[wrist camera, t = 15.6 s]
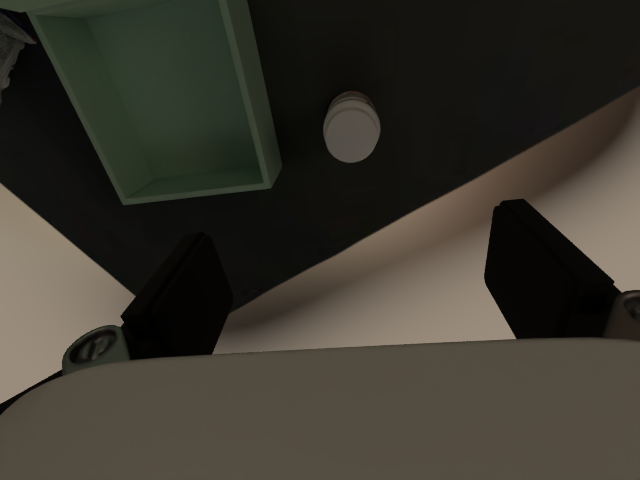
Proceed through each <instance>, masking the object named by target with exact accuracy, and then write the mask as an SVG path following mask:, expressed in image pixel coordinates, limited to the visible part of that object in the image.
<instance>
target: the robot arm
mask: <svg viewBox="0 0 640 480" xmlns="http://www.w3.org/2000/svg"><path fill="white" fill-rule="evenodd" d="M484 279H485V283H486V286H487V288H488V289H489V291H490V293H491V295H492V296H493V298H494V300H495V302H496V304H497V305H498V307H499V309H500V310H501V312H502V314H503V316H504V318H505V319H506V321H507V323H508V325H509V326H510V328H511V330H512V332H513V333H514V335H515V337H516V339H511V340H510V339H509V340H490V341H489V340H488V341H469V342H468V341H466V342H445V343H424V344H404V345H383V346H365V347H345V348H325V349H306V350H287V351H269V352H250V353H232V354H214V355H212V353H213V351H214V348H215V345H216V343H217V341H218V338H219V336H220V333H221V331H222V329H223V326H224V324H225V321H226V319H227V317H228V314H229V312H230V309H231V307H232V304H233V293H232V291H231V288H230V285H229V283H228V280H227V277H226V275H225V272H224V270H223V267H222V264H221V262H220V259H219V256H218V254H217V251H216V248H215V246H214V243H213V241H212V238H211V237H210V236H209V235H208V236H207V235H206V234H205V233H204V232H197V233H188V234H185V235H184V237H183V238H182V239H181V240H180V242H179V243H178V244H177V245H176V247H175V248H174V249H173V250H172V252H171V253H170V254H169V256H168V257H167V258H166V259H165V261H164V262H163V263H162V264H161V266H160V267H159V268H158V269H157V271H156V272H155V273H154V274H153V276H152V277H151V278H150V279H149V281H148V282H147V283H146V285H145V286H144V287H143V288H142V290H141V291H140V292H139V293H138V295H137V296H136V297H135V298H134V300H133V301H132V302H131V303H130V305H129V306H128V307H127V309H126V310H125V311H124V312H123V314H122V315H121V318H122V320H123V321H124V323H123V325H122V326H121V327H118V326H115V325H107V326H103V327H99V328H96V329H94V330H91V331H90V332H88V333H86V334H85V335H83V336H81V337H80V338H79V339H77V340H76V341H75V342H74V343H73V344H72V345H71V346H70V347H69V348H68V349H67V351H66V352H65V354H64V356H63V360H62V370H60V371H58V372H57V373H55V374H53V375H51V376H49V377H48V378H46V379H45V380H42V381H41V382H39V383H37V384H35V385H34V386H32V387H30V388H28V389H26V390H25V391H23V392H21V393H19V394H17V395H16V396H14V397H12V398H10V399H9V400H7V401H5V402H3V403H1V404H0V480H640V290H632V291H625V292H623V293H622V292H621V291H620V290H618V289H617V288H616V287H615V286H614V285H613V284H614V281H613V280H612V279H611V278H610V277H609V276H608V275H607V274H606V273H605V272H604V271H602V270H601V269H600V268H599V267H598V266H597V265H596V264H595V263H593V261H592V260H590V259H589V258H588V257H587V256H586V255H585V254H584V253H583V252H582V251H581V250H579V249H578V248H577V247H576V246H575V245H574V244H573V243H572V242H570V240H568V239H567V238H566V237H565V236H564V235H563V234H562V233H561V232H560V231H559V230H557V229H556V228H555V227H554V226H553V225H552V224H551V223H550V222H549V221H548V220H546V219H545V218H544V217H543V216H542V215H541V214H540V213H539V212H538V211H537V210H535V209H534V208H533V207H532V206H531V205H530V204H529V203H528V202H527V201H525V200H524V199H516V200H506V201H502V202H501V203H500V205H499V206H496V207H495V208H494V210H493V217H492V224H491V231H490V238H489V245H488V252H487V260H486V266H485V273H484Z"/></svg>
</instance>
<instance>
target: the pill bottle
mask: <svg viewBox="0 0 640 480" xmlns="http://www.w3.org/2000/svg"><path fill="white" fill-rule="evenodd" d="M323 134H324V139H325V142H326V145H327V147H328V149H329V151H330V153H331V154H332V155H333V156H334V157H335V158H337V159H338V160H340V161H343V162H349V163H352V162H358V161H361V160H363V159H365V158H366V157H367V156H368V155H369V154H370V153H371V152H372V151H373V149H374V147H375V145H376V143H377V141H378V138H379V135H380V122H379V118H378V116H377V113H376V110H375V107H374V105H373V103H372V102H371V100H370V99H369V98H368V97H367V96H365V95H364V94H362V93H359V92H355V91H349V92H345V93H342V94H340V95H339V96H337V97H336V98H335V99H334V100H333V101H332V103H331V104H330V106H329V108H328V112H327V115H326V118H325V121H324V126H323Z"/></svg>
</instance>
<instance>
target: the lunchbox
mask: <svg viewBox="0 0 640 480" xmlns="http://www.w3.org/2000/svg"><path fill="white" fill-rule="evenodd" d="M26 13H27V15H28V17H29V19H30V21H31V23H32V25H33V26H34V28H35V30H36V32H37V34H38V36H39V38H40V40H41V42H42V44H43V46H44V48H45V50H46V52H47V54H48V56H49V58H50V60H51V62H52V64H53V66H54V68H55V70H56V72H57V74H58V76H59V78H60V80H61V82H62V84H63V86H64V88H65V90H66V92H67V94H68V96H69V98H70V100H71V102H72V104H73V106H74V108H75V110H76V112H77V114H78V116H79V118H80V120H81V122H82V124H83V126H84V128H85V130H86V132H87V134H88V136H89V138H90V140H91V142H92V144H93V146H94V148H95V150H96V152H97V154H98V156H99V158H100V160H101V162H102V164H103V166H104V168H105V170H106V172H107V174H108V176H109V178H110V180H111V182H112V184H113V186H114V188H115V190H116V192H117V194H118V196H119V198H120V200H121V202H122V204H123V205H128V204H137V203H146V202H155V201H163V200H172V199H181V198H190V197H198V196H207V195H216V194H225V193H233V192H242V191H251V190H260V189H268V188H271V187H272V186H273V184H274V182H275V180H276V178H277V176H278V174H279V172H280V170H281V168H282V161H281V157H280V152H279V147H278V143H277V138H276V133H275V129H274V124H273V119H272V115H271V110H270V105H269V101H268V96H267V91H266V87H265V82H264V77H263V73H262V68H261V63H260V59H259V54H258V49H257V45H256V40H255V35H254V31H253V26H252V21H251V17H250V12H249V7H248V3H247V0H76V1H71V2H66V3H62V4H57V5H52V6H48V7H43V8H39V9H34V10H29V11H26Z"/></svg>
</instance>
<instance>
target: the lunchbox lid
mask: <svg viewBox="0 0 640 480" xmlns="http://www.w3.org/2000/svg"><path fill="white" fill-rule="evenodd" d="M71 1H76V0H0V8H3V9H7V10H12V11H16V12H25V11H29V10H34V9H39V8H43V7H48V6H52V5H57V4H62V3H66V2H71Z"/></svg>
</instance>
